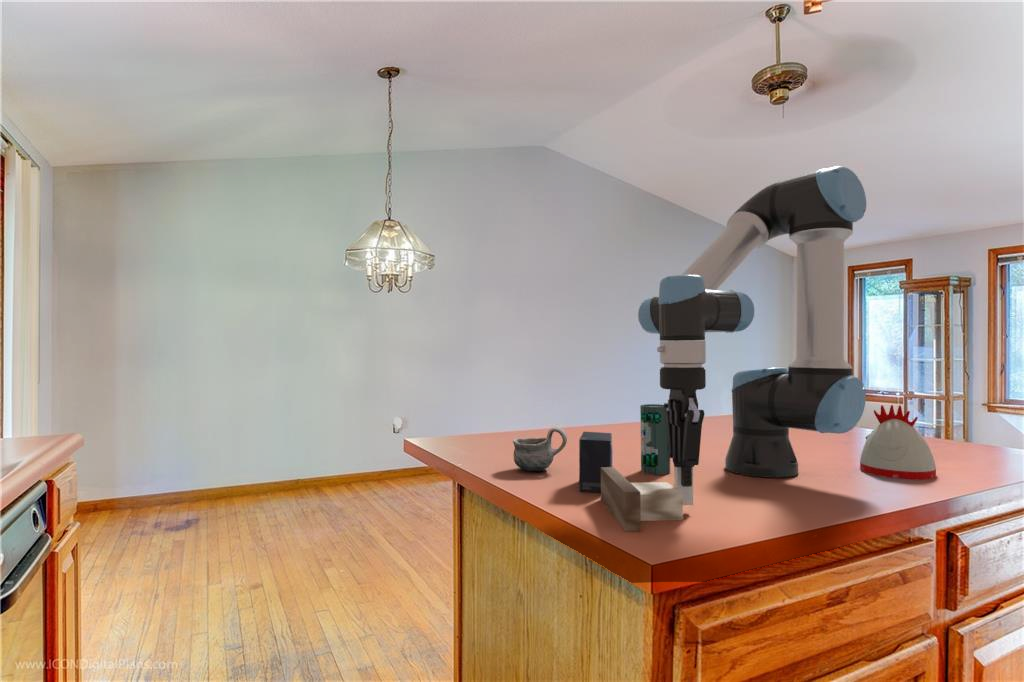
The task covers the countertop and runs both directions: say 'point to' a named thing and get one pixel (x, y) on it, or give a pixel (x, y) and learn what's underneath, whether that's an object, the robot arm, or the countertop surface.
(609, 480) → the walnut board
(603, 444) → the small box
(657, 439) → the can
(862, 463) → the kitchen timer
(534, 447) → the mug
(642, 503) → the maple block
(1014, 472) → the countertop surface
